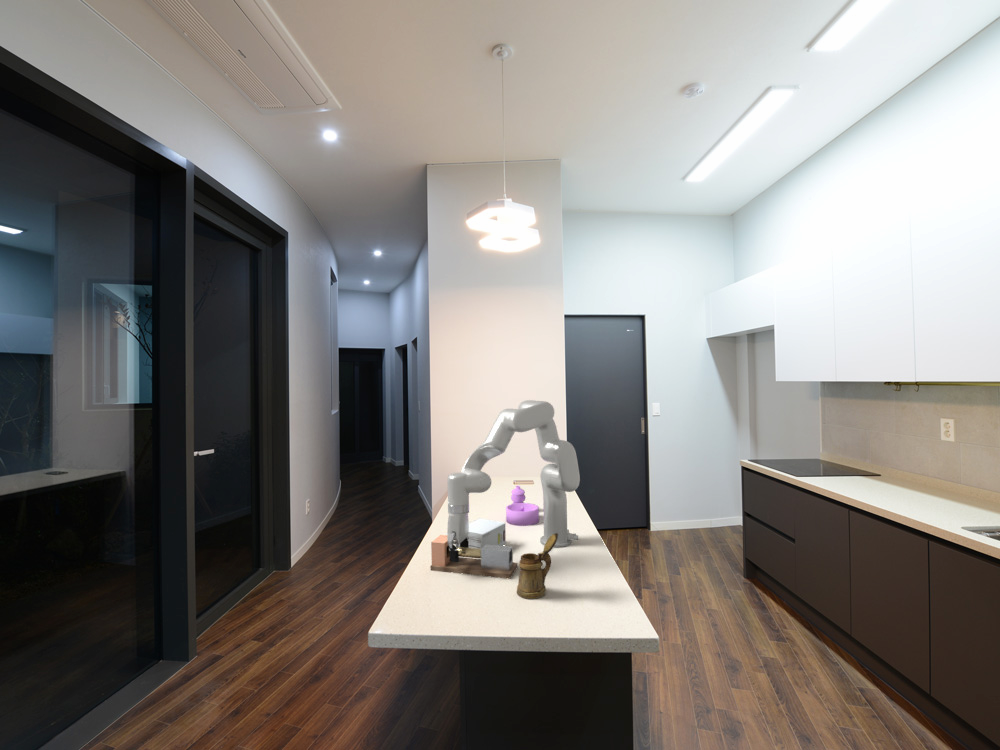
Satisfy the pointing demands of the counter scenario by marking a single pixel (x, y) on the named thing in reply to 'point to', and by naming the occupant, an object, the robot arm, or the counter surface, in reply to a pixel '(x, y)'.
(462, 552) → the tube
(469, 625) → the counter surface
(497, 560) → the sleeve
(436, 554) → the socket block
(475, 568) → the base board
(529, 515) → the container set
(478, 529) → the supplement box
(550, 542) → the wooden mug
